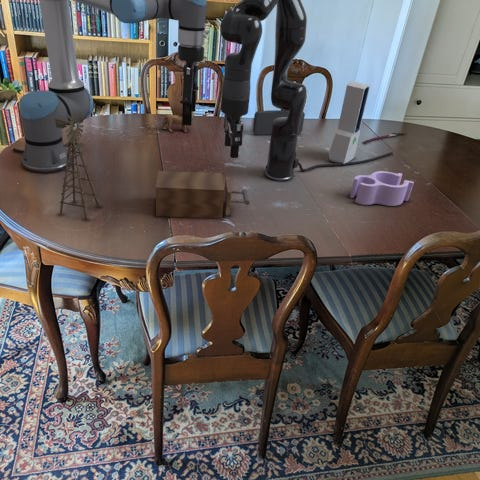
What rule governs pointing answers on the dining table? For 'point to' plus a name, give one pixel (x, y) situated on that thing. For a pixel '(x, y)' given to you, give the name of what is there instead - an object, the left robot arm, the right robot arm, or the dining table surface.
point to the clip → (381, 189)
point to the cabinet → (189, 194)
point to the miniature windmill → (73, 142)
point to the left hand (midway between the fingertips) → (189, 117)
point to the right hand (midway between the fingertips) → (231, 151)
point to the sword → (383, 137)
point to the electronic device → (349, 123)
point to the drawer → (228, 196)
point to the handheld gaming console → (270, 121)
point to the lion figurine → (174, 121)
